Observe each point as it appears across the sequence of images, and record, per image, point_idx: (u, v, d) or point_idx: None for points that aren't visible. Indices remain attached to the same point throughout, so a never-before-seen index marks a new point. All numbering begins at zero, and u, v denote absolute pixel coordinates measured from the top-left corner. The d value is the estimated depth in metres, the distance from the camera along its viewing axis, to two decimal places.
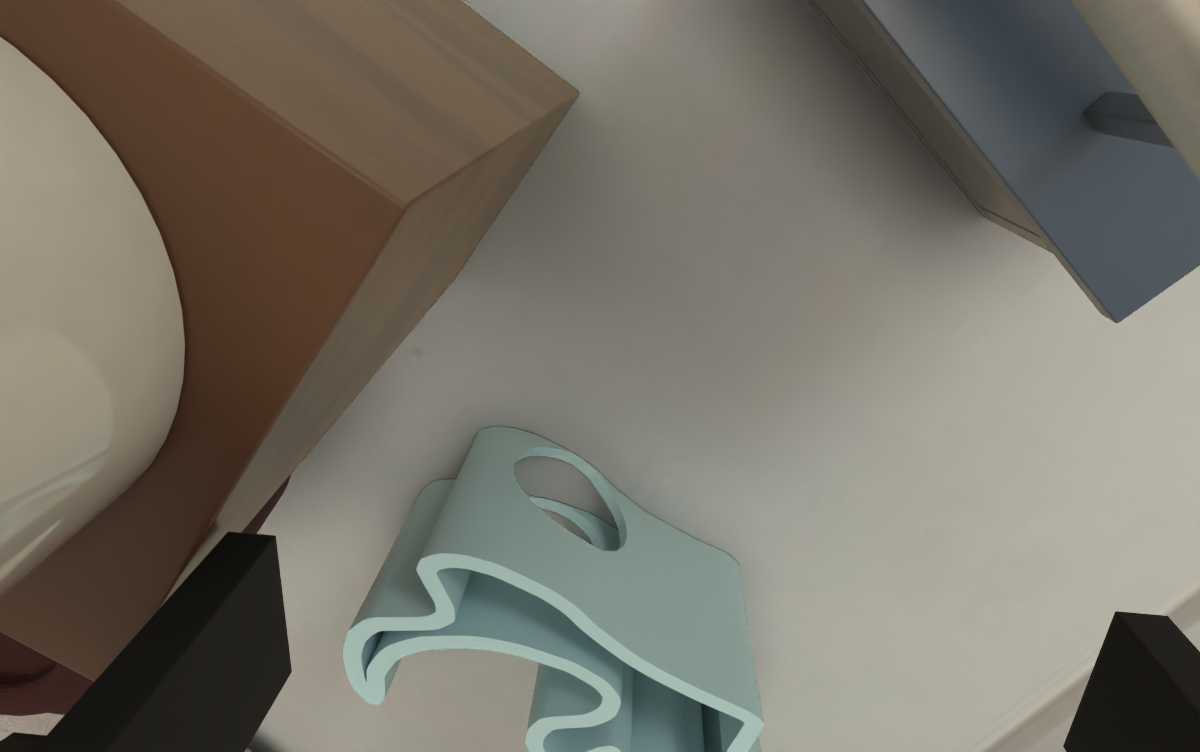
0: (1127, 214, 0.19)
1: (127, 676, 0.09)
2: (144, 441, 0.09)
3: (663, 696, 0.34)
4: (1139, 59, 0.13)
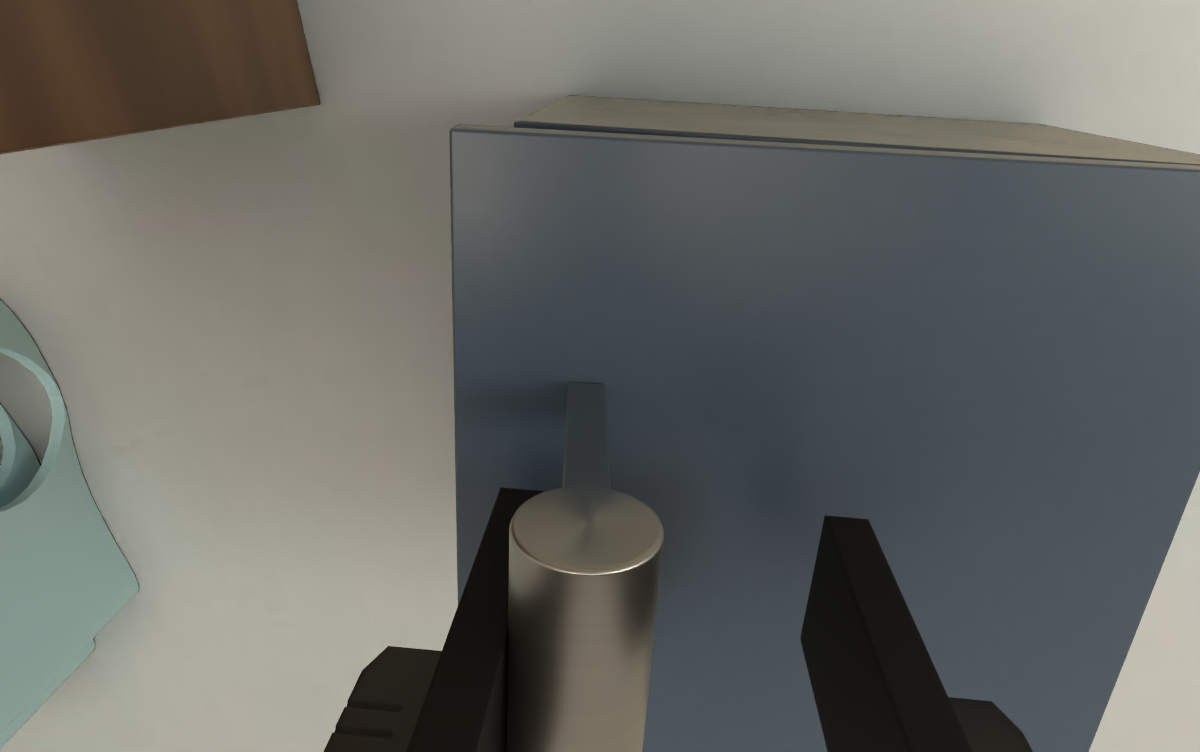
0: None
1: (483, 599, 0.11)
2: None
3: None
4: (511, 716, 0.11)
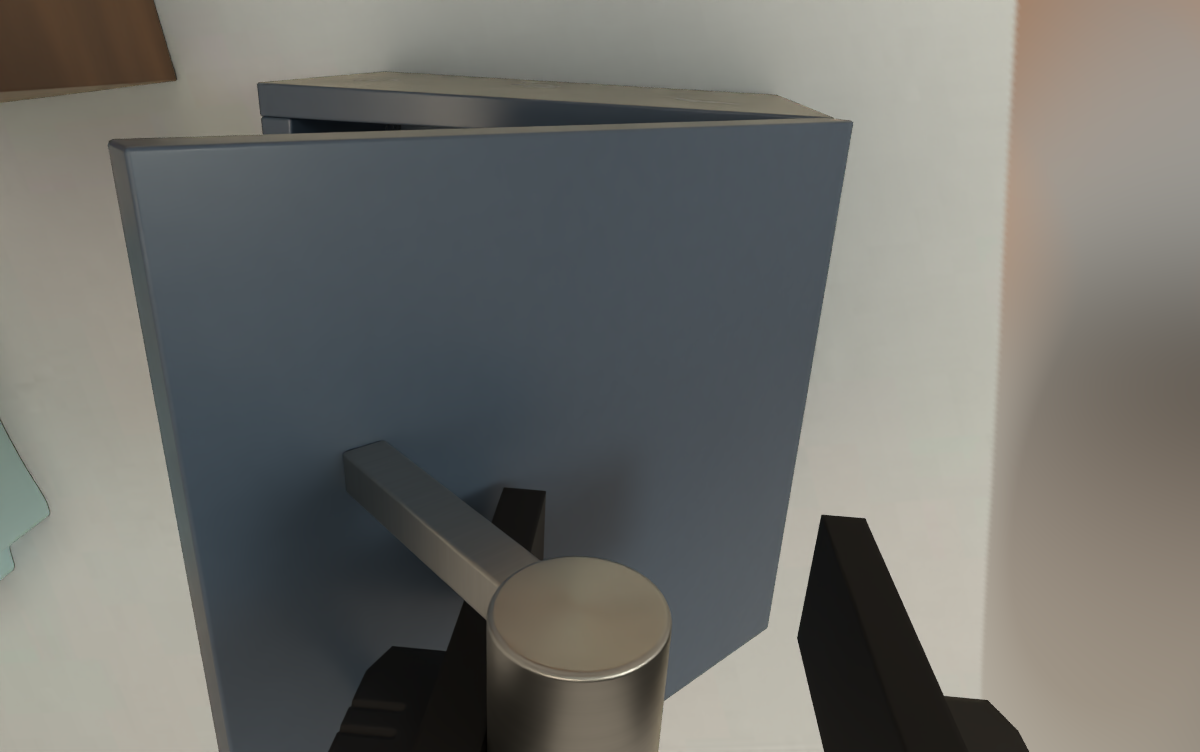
0: None
1: None
2: None
3: None
4: None
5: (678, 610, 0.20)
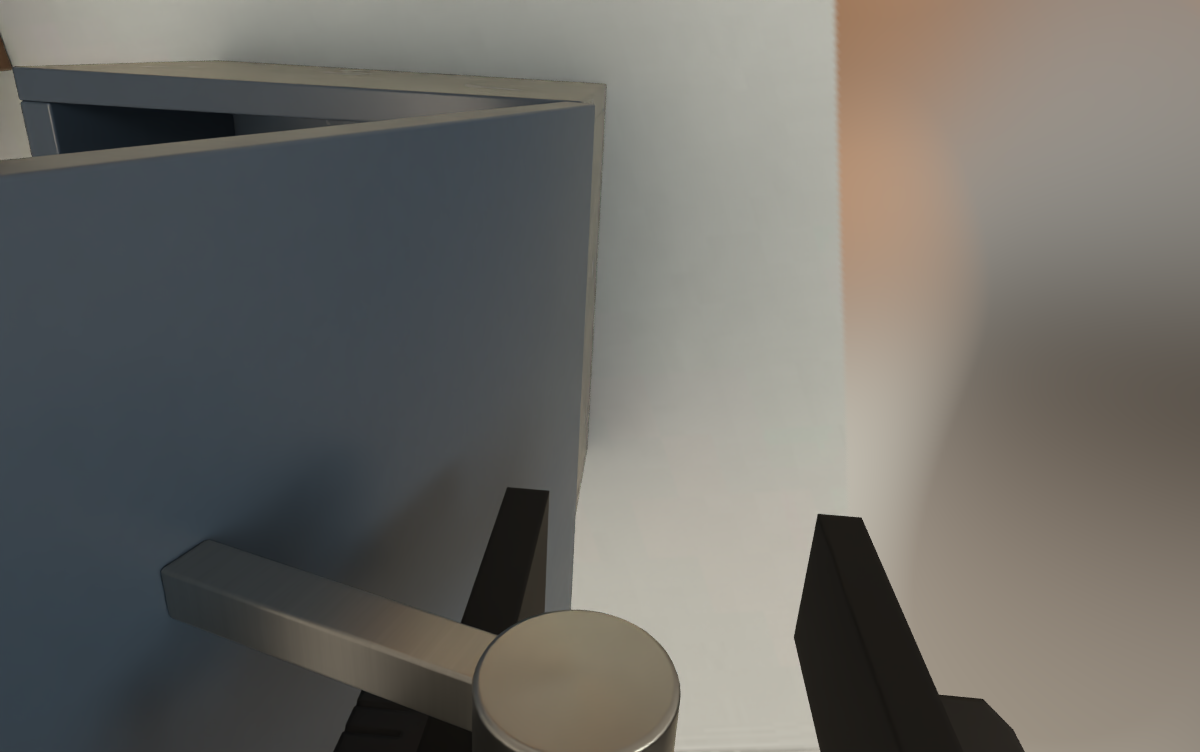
0: None
1: (491, 598, 0.11)
2: None
3: None
4: None
5: None
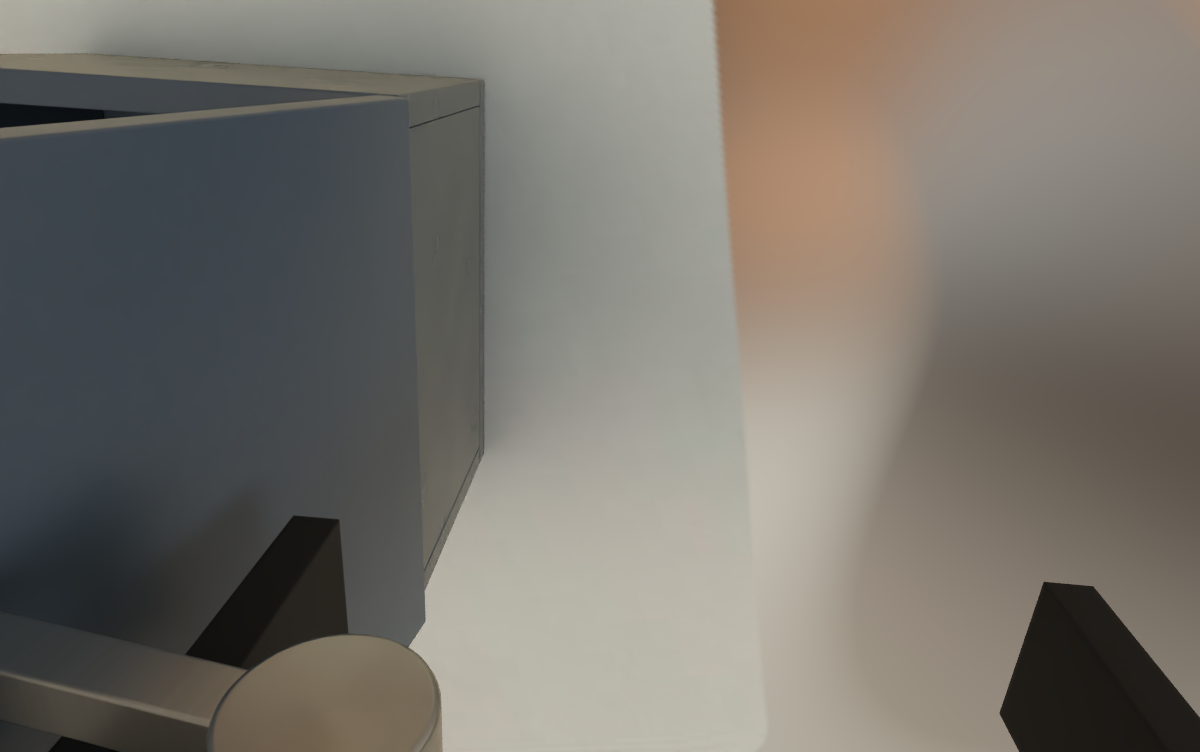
0: None
1: (216, 648, 0.10)
2: None
3: None
4: None
5: None
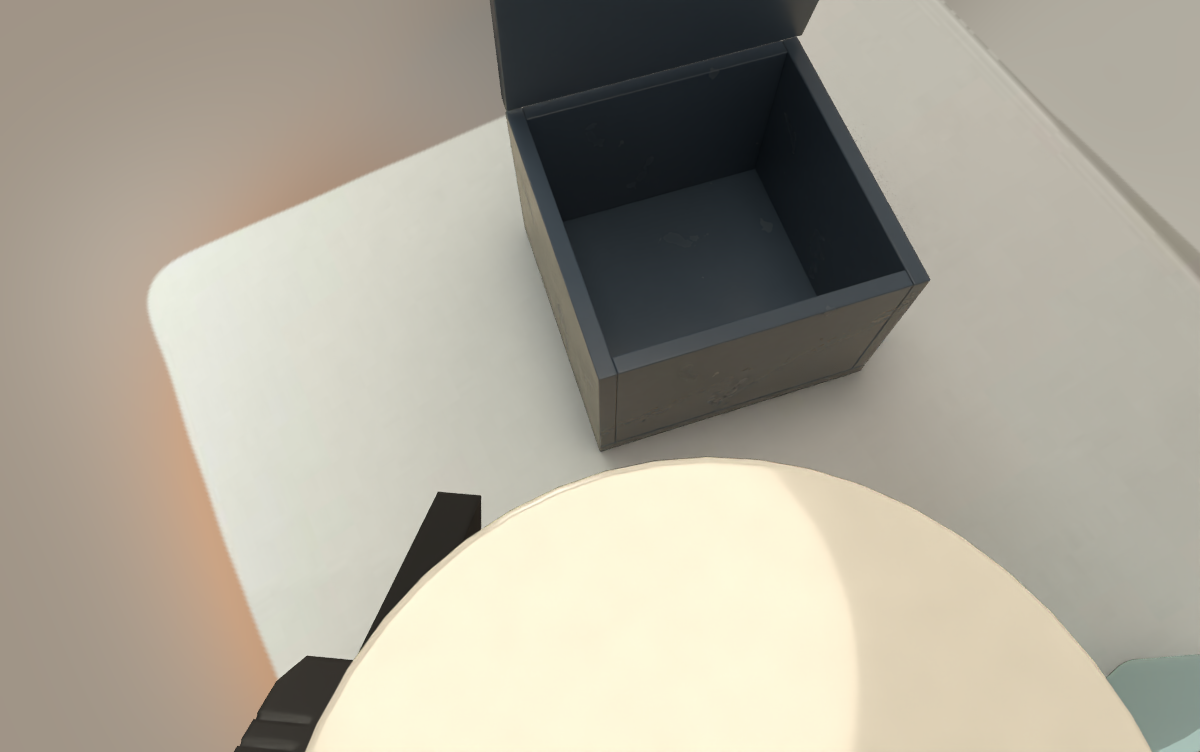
0: None
1: None
2: None
3: None
4: None
5: None
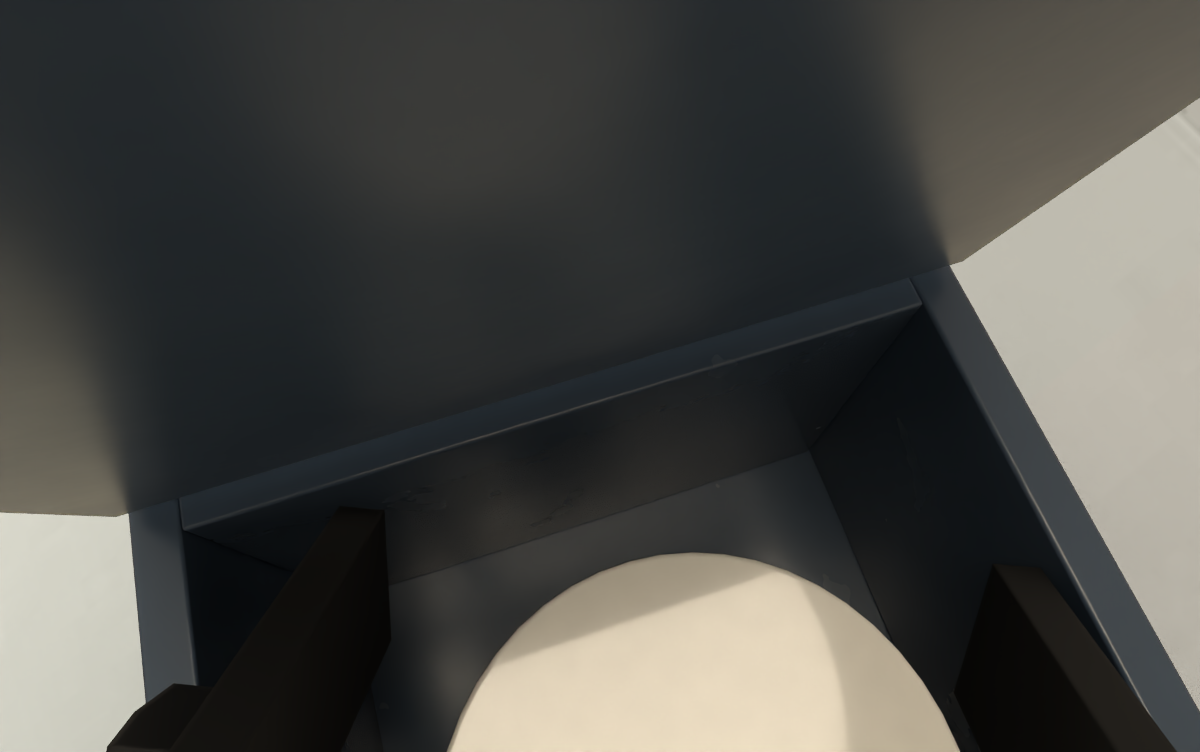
0: None
1: (277, 632, 0.10)
2: None
3: None
4: None
5: None
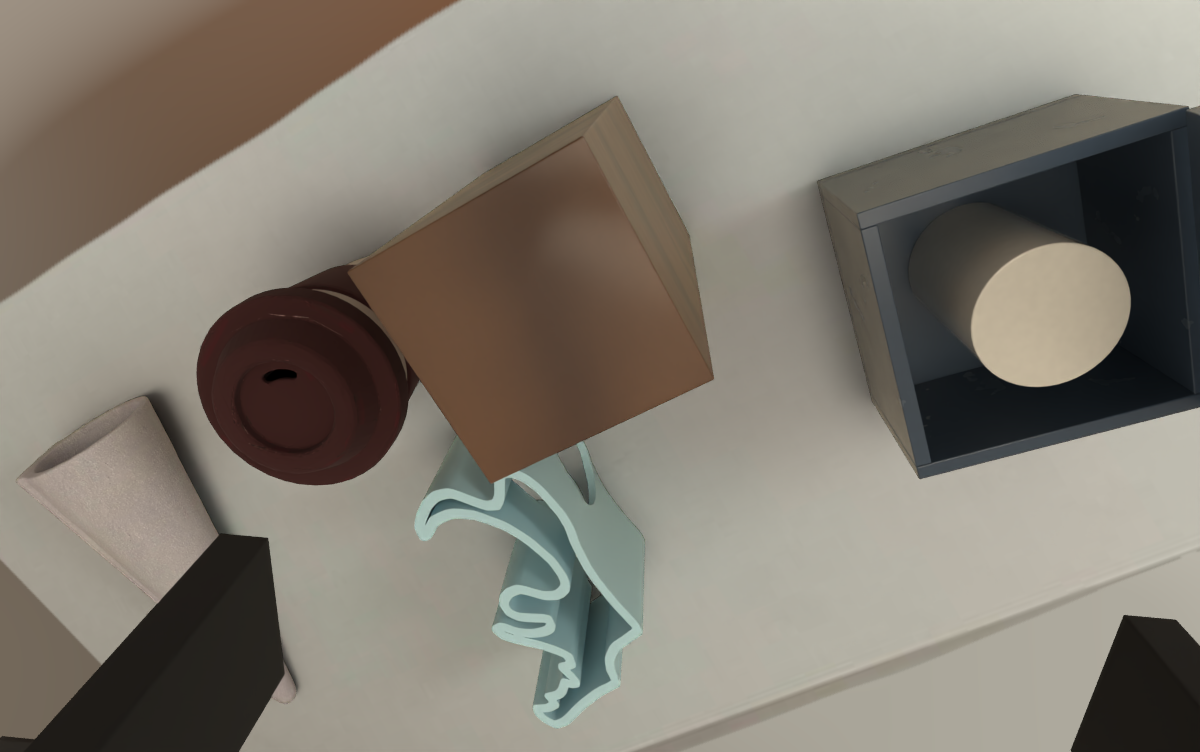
0: None
1: (116, 680, 0.09)
2: None
3: (574, 603, 0.52)
4: None
5: None
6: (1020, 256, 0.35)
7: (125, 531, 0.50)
